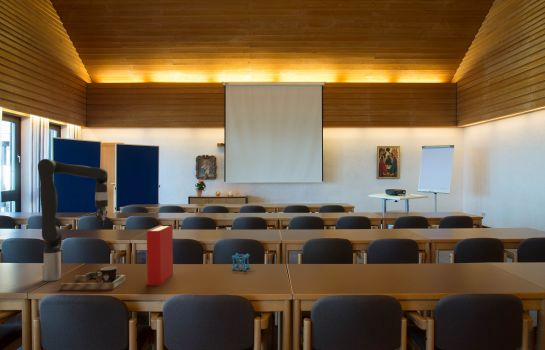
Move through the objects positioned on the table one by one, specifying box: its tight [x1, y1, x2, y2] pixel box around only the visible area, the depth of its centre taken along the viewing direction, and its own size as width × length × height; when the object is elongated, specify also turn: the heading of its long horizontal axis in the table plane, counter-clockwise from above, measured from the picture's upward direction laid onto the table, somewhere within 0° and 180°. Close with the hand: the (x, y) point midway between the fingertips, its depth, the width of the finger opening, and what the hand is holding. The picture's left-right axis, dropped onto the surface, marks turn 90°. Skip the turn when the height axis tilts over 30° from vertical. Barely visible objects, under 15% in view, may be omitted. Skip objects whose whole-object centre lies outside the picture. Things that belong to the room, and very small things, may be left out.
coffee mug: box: [95, 266, 118, 283], centre depth 242 cm, size 12×9×10 cm
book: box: [146, 224, 174, 286], centre depth 254 cm, size 27×8×32 cm, turn 178°
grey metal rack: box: [59, 271, 126, 291], centre depth 246 cm, size 30×27×4 cm
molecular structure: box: [231, 253, 251, 272], centre depth 278 cm, size 10×10×10 cm
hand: (101, 226), depth 264 cm, fingers closed
